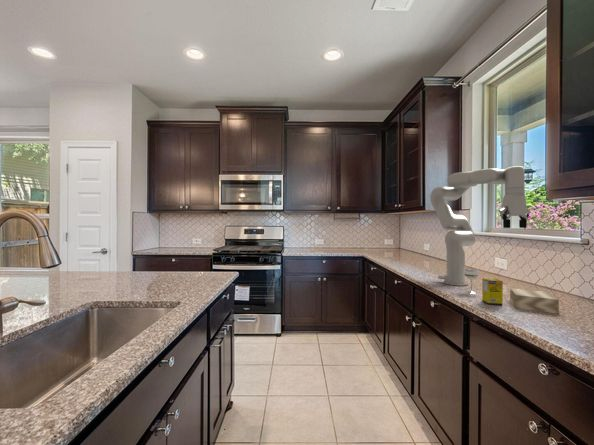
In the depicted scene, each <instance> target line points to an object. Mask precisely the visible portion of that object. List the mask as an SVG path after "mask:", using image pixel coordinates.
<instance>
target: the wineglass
mask: <svg viewBox="0 0 594 445" xmlns="http://www.w3.org/2000/svg"><path fill="white" fill-rule="evenodd" d="M479 271H480V269H476V268H465V272H464V275H465V278H467V279H468V280H469V281H470V290H468V291H466V294H473V295H477V294H478V292H476V291H473V281H474V280H476V279H478V278H479V277H480V272H479Z"/></svg>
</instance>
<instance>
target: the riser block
mask: <svg viewBox="0 0 594 445" xmlns="http://www.w3.org/2000/svg"><path fill="white" fill-rule="evenodd" d="M509 289H510V291H509V301H510V302H511V304H512V305H513V306H514V308H515V309H519V310H526V311H527V310H528V311H533V312H534V311H535V312H542V313H543V312H545V313H552V314H559V313H560V312H559V311H560V310H559V308H560V299H559V298H557V297H556V296H555V295H553V294H552V293H551V292H549V291H544V290H542V291H541V290H532V289H521V288H512V287H511V288H509Z"/></svg>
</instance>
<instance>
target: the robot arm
mask: <svg viewBox="0 0 594 445" xmlns="http://www.w3.org/2000/svg"><path fill="white" fill-rule="evenodd" d="M446 182H447V184H448V185H449V186H437V187H435V188H433V189H432V191H431V192H430V197H429V198H430V200H429V201H430V203H431V205H432V207H433V208H432V209H434V211H435V213H436V217H437V218H438V220H439V222H440V225H441V226H442V228H443V229H444V230H446V231H448V232H447V233H446V234H445V236H444V243H445V248H446V249H445V250H446V274H445V275H438V276H437V278H438V279H439V280H443V283H444V284H446V285H449V286H457V287H458V286H461V287H463V286H468V283H469V282H467V281H465V280H466V276H465V275H464V272H465V269H466V254H465V250H464V248H463V247H470V246H473V245H474V244H475V242H476V234H475V232H474V230H473V228H472V226H471V224H470V222H469V220H468V219H467V217H466V216H464V215H462V214H455V213H453V210H452V208H451V207H450V205H449V204H448V203H447V202H446V201H449V202H451V201H452V202H454V201H456V200H457V201H458V199H460V198H461V197H462V196H463V195H464V194H465V193H466V192H467V191H468V190H469V189H470V187H476V186H477V185H486V184H488V185H489V184H490V185H504V195H503V197H502V203H501V206H502V207H501V208H500V209H499V210H498V212H499V214H500V217H501V220H502V227H503V229H510V228H511V219H510V218H511V217H518V218H519V219H518V220H519V222H518V223H519V224H518V226H519V229H526V228H527V227H528V223H527V222H528V218H529V217H530V213H531V210H530V209H528V208H527V198H526V194H525V168H524V166H521V165H516V166H515V165H514V166H508V167H507V168H505V169H503V168H502V169H501V168H483V169H482V168H481V169H475V170H472V171H471V170H470V171H462V172H455V173H454V172H453V173H451V174H449V176H448V177H447V181H446Z"/></svg>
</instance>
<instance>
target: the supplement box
mask: <svg viewBox="0 0 594 445" xmlns="http://www.w3.org/2000/svg"><path fill="white" fill-rule="evenodd" d="M481 280H482V284H481V286H482V302H483V303H485V304H487V305H491V306H503V294H504V293H503V288H504V287H503V280H501V279H498V278H490V277H483V278H482V279H481Z"/></svg>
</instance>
